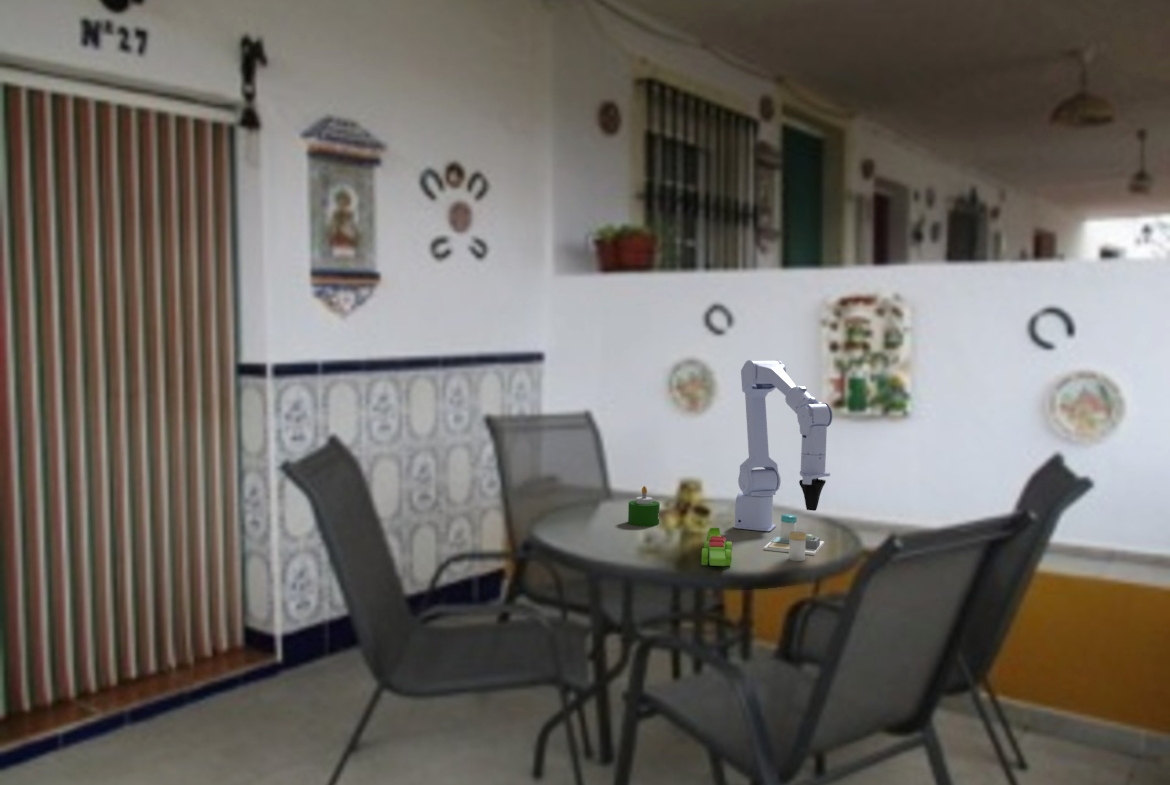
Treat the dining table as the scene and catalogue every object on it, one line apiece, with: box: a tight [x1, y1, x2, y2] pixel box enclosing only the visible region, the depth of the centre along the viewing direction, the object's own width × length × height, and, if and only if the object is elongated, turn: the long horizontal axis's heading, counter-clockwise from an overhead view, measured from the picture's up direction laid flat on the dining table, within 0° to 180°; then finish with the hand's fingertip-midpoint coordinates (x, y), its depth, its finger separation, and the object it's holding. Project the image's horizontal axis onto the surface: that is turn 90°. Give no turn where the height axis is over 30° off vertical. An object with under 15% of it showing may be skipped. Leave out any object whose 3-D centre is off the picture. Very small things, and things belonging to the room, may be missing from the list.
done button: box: [806, 533, 814, 540], centre depth 238 cm, size 2×2×2 cm
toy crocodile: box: [700, 527, 733, 567], centre depth 226 cm, size 20×7×6 cm, turn 171°
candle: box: [627, 485, 661, 527], centre depth 265 cm, size 8×8×10 cm
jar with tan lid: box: [788, 531, 807, 562], centre depth 229 cm, size 4×4×6 cm
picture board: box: [763, 535, 825, 556], centre depth 241 cm, size 12×13×3 cm
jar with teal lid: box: [779, 513, 798, 542], centre depth 244 cm, size 4×4×6 cm
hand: (811, 509), depth 239 cm, fingers closed
